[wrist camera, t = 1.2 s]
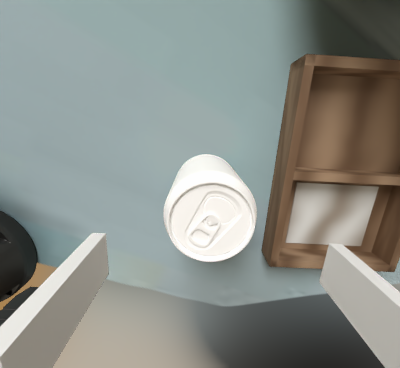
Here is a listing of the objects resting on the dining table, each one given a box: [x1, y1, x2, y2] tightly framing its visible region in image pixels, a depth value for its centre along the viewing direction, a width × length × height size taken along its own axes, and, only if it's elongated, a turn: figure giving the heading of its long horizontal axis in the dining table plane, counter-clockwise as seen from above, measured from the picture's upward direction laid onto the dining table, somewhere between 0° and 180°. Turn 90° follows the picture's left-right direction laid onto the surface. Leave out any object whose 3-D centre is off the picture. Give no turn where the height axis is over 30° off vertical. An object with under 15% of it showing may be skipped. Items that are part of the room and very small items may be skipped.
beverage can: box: [164, 154, 257, 262], centre depth 22 cm, size 8×8×12 cm
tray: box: [262, 54, 400, 272], centre depth 26 cm, size 17×25×4 cm
